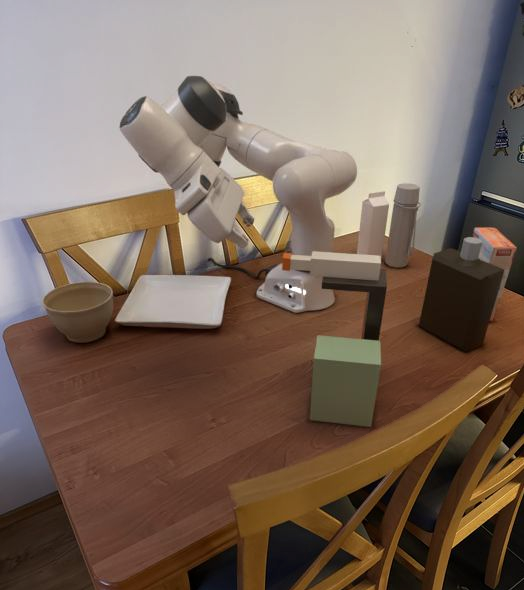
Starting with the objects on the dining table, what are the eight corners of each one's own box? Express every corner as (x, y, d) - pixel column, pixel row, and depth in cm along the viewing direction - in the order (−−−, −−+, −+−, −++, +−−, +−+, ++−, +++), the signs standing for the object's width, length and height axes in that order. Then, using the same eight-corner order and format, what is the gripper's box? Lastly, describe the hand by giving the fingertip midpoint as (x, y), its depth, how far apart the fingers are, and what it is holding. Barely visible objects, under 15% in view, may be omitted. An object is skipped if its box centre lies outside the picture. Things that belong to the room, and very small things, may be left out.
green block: (309, 420, 97) (313, 358, 89) (313, 394, 104) (317, 335, 95) (371, 427, 95) (381, 364, 87) (370, 401, 102) (380, 340, 94)
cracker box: (495, 322, 128) (518, 247, 117) (471, 322, 128) (492, 246, 117) (477, 297, 140) (496, 226, 128) (456, 297, 140) (473, 226, 128)
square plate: (115, 333, 124) (112, 320, 122) (142, 285, 147) (140, 273, 145) (221, 335, 123) (220, 322, 121) (232, 286, 146) (231, 274, 144)
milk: (381, 261, 161) (391, 194, 149) (365, 264, 159) (374, 196, 147) (370, 254, 166) (379, 188, 153) (355, 257, 164) (363, 190, 151)
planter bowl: (127, 339, 122) (120, 300, 116) (61, 358, 115) (49, 318, 109) (109, 312, 134) (102, 275, 128) (47, 327, 127) (36, 290, 121)
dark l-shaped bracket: (314, 386, 106) (321, 281, 92) (317, 365, 113) (324, 264, 99) (370, 392, 104) (387, 286, 90) (370, 370, 111) (385, 268, 97)
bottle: (465, 354, 116) (493, 256, 102) (414, 325, 127) (432, 233, 113) (486, 344, 119) (516, 248, 106) (435, 317, 131) (455, 226, 117)
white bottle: (281, 273, 95) (282, 256, 93) (284, 266, 98) (284, 249, 96) (378, 280, 92) (381, 263, 90) (378, 272, 95) (380, 255, 93)
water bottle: (379, 263, 160) (390, 185, 146) (395, 257, 163) (407, 181, 149) (401, 273, 153) (414, 192, 139) (417, 267, 157) (432, 188, 143)
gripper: (198, 171, 100) (244, 220, 105) (173, 213, 84) (229, 268, 90) (219, 151, 97) (266, 202, 102) (198, 190, 81) (254, 249, 87)
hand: (248, 234), depth 96 cm, fingers open, 8 cm apart
